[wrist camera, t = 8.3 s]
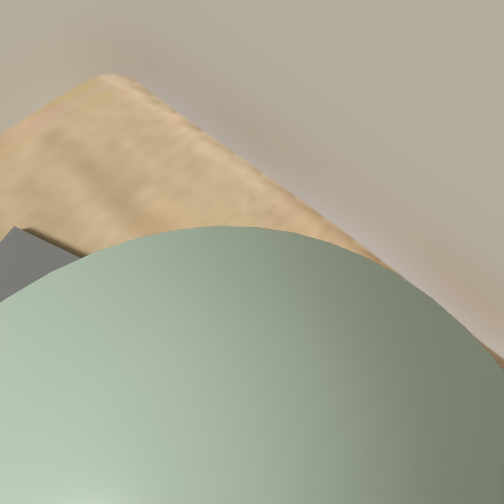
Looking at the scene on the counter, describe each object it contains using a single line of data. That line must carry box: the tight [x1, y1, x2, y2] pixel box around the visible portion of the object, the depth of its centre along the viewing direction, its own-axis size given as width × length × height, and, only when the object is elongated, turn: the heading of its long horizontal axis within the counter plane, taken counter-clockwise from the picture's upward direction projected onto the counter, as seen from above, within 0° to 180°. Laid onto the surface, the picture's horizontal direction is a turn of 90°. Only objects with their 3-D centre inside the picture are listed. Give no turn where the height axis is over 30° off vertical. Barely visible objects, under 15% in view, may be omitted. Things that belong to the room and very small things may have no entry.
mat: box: [0, 226, 81, 303], centre depth 16 cm, size 9×9×1 cm
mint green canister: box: [0, 226, 504, 504], centre depth 8 cm, size 7×7×13 cm
